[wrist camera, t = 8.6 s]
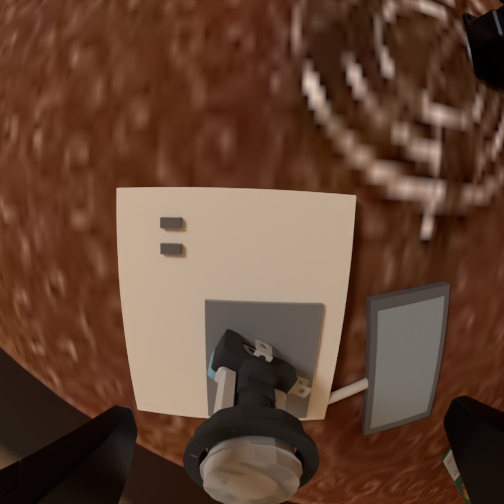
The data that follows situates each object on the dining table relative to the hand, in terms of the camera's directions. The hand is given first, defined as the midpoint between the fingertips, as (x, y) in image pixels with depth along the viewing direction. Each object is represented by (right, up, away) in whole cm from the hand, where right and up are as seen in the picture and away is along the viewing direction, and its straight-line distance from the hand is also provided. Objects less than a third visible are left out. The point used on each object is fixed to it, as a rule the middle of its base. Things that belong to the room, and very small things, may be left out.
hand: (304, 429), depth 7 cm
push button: (-1, -2, +12) cm, 12 cm away
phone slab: (+10, -4, +14) cm, 17 cm away
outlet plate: (-3, 0, +13) cm, 13 cm away
